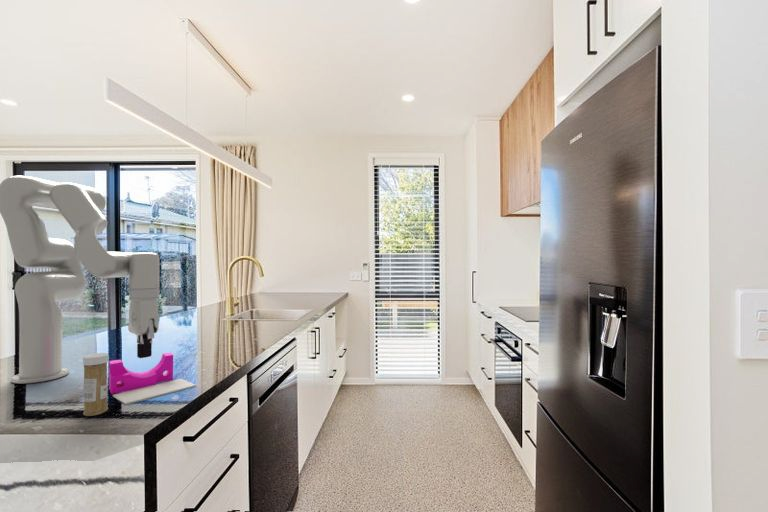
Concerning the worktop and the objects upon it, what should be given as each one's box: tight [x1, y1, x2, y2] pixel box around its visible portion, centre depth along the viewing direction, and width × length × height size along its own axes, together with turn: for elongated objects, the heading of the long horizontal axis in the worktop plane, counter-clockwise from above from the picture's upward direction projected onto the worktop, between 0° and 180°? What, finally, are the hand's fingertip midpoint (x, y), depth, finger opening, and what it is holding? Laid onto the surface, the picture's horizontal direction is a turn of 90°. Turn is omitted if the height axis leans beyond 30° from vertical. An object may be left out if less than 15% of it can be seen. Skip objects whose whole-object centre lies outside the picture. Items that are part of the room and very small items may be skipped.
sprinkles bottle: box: [82, 352, 109, 417], centre depth 87 cm, size 5×5×14 cm
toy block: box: [108, 352, 174, 395], centre depth 106 cm, size 15×6×8 cm, turn 131°
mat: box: [112, 378, 197, 406], centre depth 101 cm, size 9×17×1 cm, turn 142°
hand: (144, 356), depth 110 cm, fingers closed
